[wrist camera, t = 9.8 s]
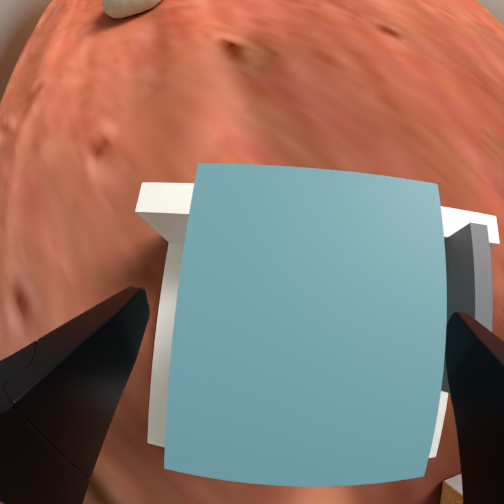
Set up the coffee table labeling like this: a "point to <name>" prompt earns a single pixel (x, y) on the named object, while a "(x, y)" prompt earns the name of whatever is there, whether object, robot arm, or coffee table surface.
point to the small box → (452, 490)
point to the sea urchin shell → (127, 7)
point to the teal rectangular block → (307, 328)
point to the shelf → (174, 231)
